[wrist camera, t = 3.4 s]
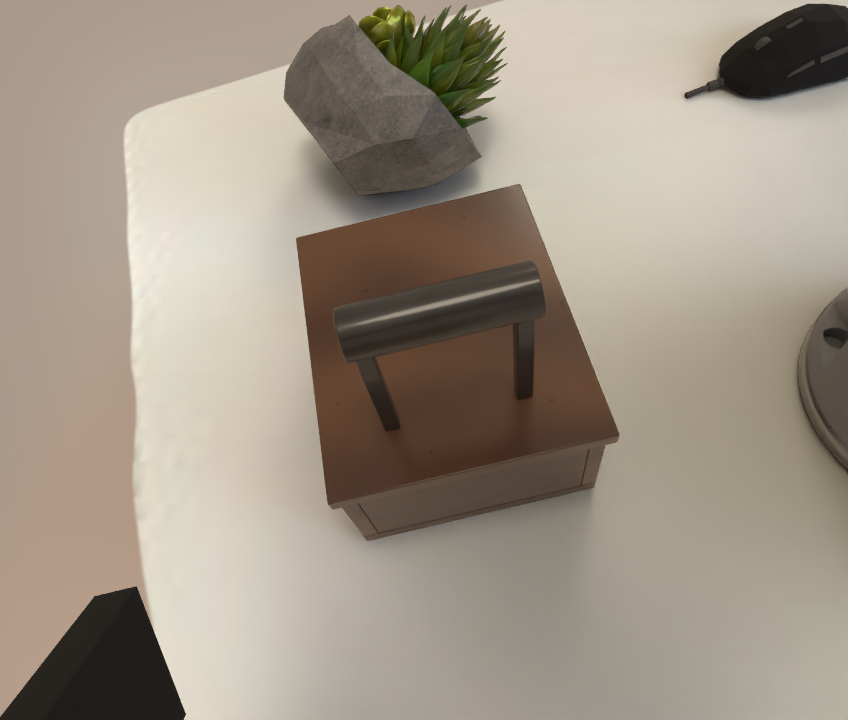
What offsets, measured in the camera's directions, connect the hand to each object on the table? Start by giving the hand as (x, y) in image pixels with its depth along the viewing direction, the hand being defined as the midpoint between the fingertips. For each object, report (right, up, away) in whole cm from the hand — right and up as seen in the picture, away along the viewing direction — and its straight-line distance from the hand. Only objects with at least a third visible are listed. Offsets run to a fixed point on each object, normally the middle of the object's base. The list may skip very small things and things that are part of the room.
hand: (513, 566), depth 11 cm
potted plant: (-2, +19, +38) cm, 43 cm away
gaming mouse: (+26, +26, +38) cm, 53 cm away
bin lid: (-1, +5, +20) cm, 21 cm away
